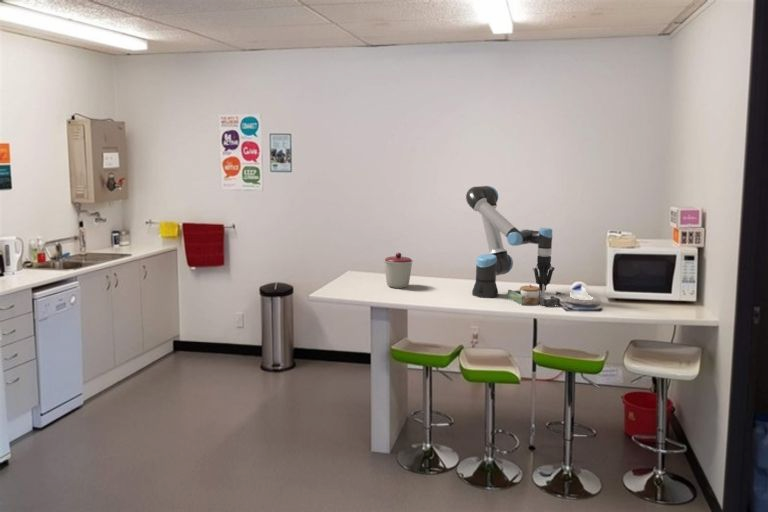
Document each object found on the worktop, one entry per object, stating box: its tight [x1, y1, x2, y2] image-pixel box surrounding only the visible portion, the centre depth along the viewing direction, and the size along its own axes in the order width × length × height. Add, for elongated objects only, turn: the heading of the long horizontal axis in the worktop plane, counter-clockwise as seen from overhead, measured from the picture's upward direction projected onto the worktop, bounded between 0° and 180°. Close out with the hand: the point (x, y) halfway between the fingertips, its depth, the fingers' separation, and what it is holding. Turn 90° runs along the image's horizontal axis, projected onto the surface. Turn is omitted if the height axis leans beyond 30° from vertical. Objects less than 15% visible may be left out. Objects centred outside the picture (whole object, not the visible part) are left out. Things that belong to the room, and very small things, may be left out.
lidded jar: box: [519, 284, 540, 297], centre depth 381 cm, size 11×11×9 cm
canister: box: [383, 252, 414, 289], centre depth 412 cm, size 18×18×21 cm
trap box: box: [507, 288, 561, 307], centre depth 382 cm, size 20×29×5 cm
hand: (542, 296), depth 384 cm, fingers closed
